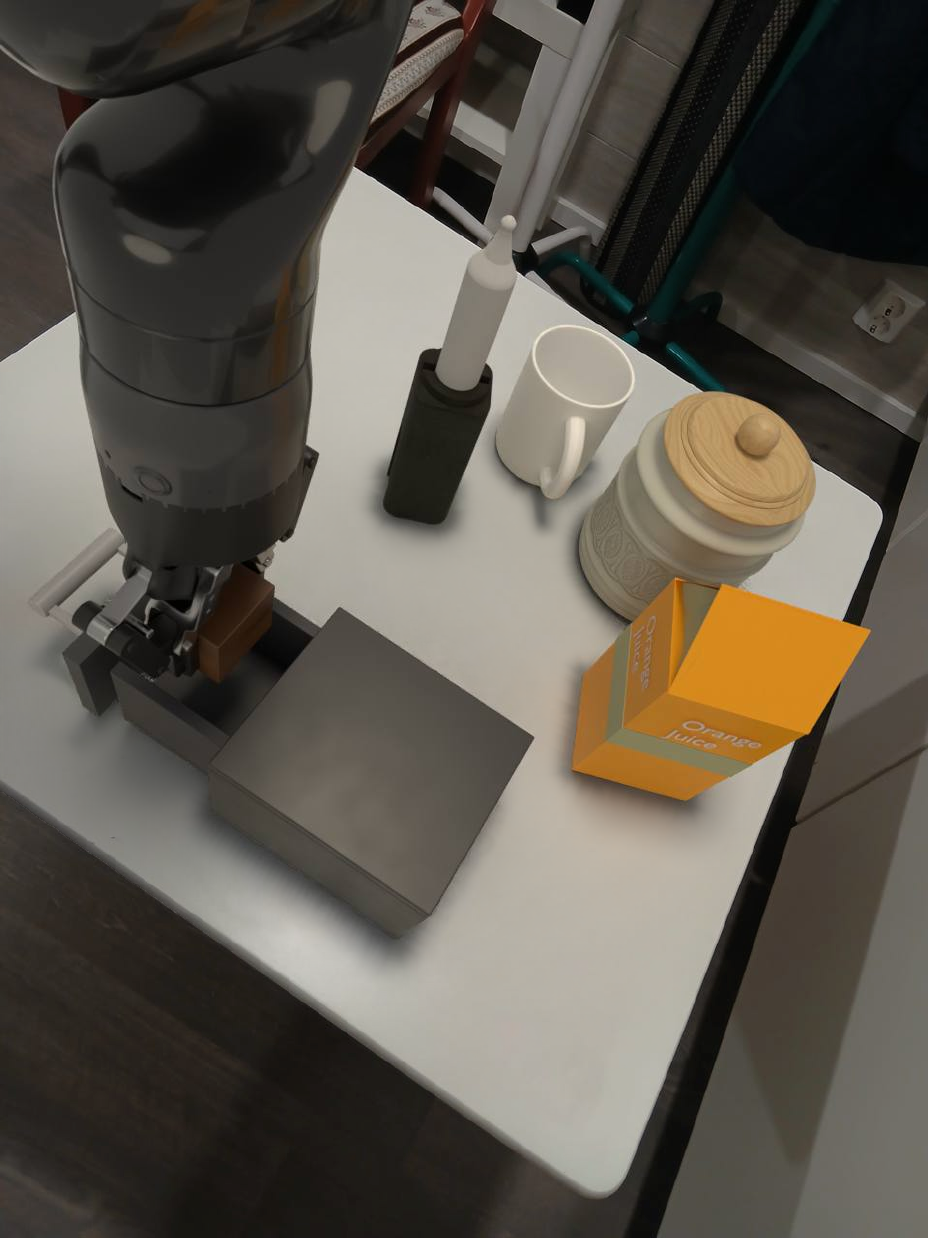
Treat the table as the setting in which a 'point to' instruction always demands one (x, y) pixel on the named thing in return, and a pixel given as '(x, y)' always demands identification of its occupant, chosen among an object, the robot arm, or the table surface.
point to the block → (235, 622)
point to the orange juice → (707, 687)
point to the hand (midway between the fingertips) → (210, 628)
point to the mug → (563, 406)
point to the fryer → (367, 773)
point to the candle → (452, 391)
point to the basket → (170, 706)
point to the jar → (697, 501)
